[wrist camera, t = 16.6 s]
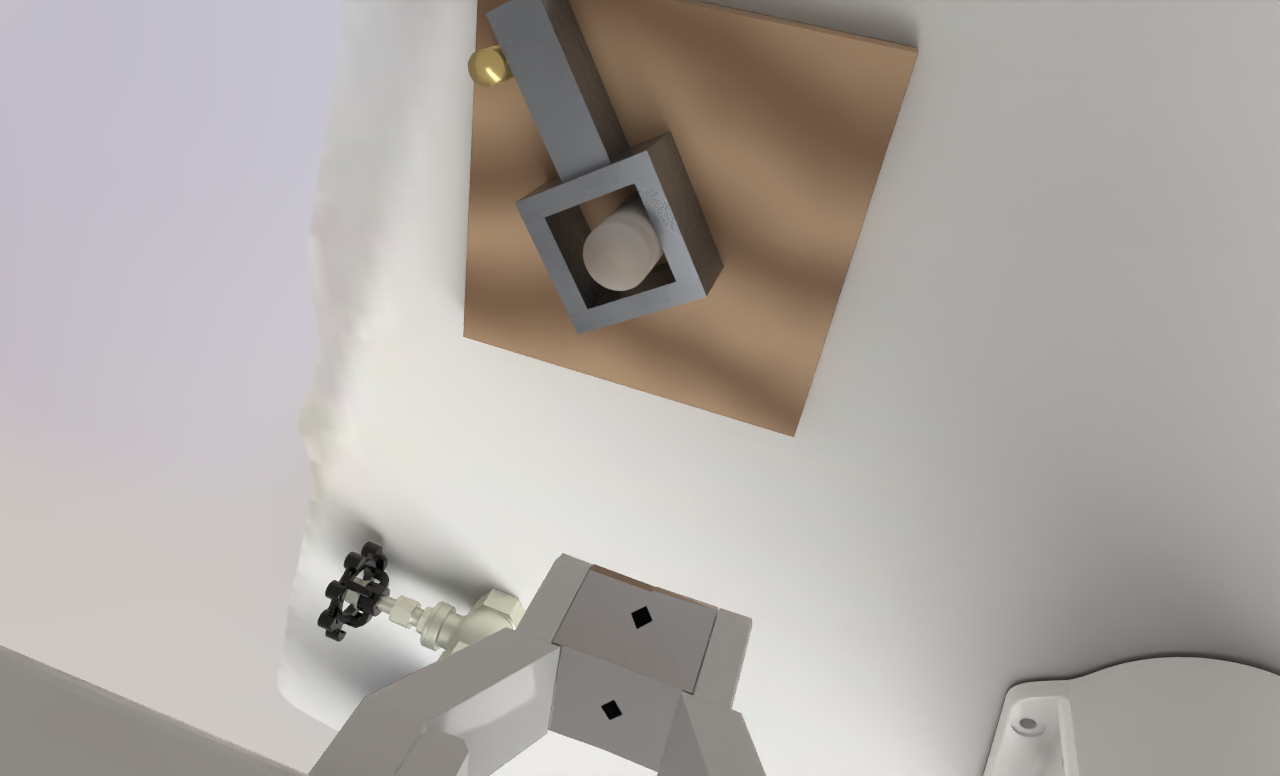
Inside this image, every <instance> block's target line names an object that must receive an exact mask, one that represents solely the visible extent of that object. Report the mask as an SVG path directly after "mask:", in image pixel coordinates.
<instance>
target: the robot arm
mask: <svg viewBox="0 0 1280 776" xmlns="http://www.w3.org/2000/svg"><path fill="white" fill-rule="evenodd" d="M717 611H718V612H717ZM716 614H717V615H716ZM715 618H716V619H715ZM714 621H715V622H714ZM712 628H713V629H712ZM751 628H752V619H751V618H748V617H745V616H742V615H739V614H736V613H733V612H730V611H727V610H725V609H722V608H719V610H718V607H716V606H713V605H710V604H707V603H704V602H701V601H698V600H695V599H692V598H689V597H686V596H683V595H680V594H677V593H674V592H671V591H668V590H665V589H662V588H659V587H656V586H655V587H654V586H651V585H649V584H646V583H643V582H640V581H638V580H635V579H632V578H630V577H627V576H624V575H622V574H619V573H616V572H614V571H611V570H608V569H606V568H603V567H600V566H598V565H595V564H594V565H593V564H591V563H588V562H585V561H582V560H580V559H577V558H574V557H572V556H569V555H566V554H564V553H563V554H561V555H560V556H559V557H558V558H557V559H556V560H555V562H554V564H553V566H552V567H551V569H550V571H549V573H548V574H547V576H546V578H545V579H544V581H543V583H542V585H541V586H540V588H539V590H538V591H537V593H536V595H535V597H534V598H533V600H532V602H531V603H530V605H529V607H528V609H527V610H526V612H525V614H524V615H523V617H522V619H521V621H520V622H519V624H518V626H517V628H516V629H515V630H514V629H511V628H508V627H505V628H503V629H501V630H499V631H497V632H495V633H493V634H491V635H489V636H487V637H485V638H483V639H481V640H479V641H477V642H475V643H473V644H471V645H469V646H466V647H464V648H462V649H460V650H458V651H456V652H454V653H452V654H450V655H448V656H446V657H444V658H442V659H440V660H438V661H436V662H434V663H432V664H430V665H428V666H426V667H424V668H422V669H420V670H418V671H416V672H414V673H412V674H410V675H408V676H406V677H404V678H402V679H400V680H398V681H396V682H394V683H392V684H390V685H388V686H386V687H384V688H382V689H380V690H378V691H376V692H374V693H372V694H370V695H368V696H366V697H364V698H363V700H362V701H361V703H360V704H359V705H358V707H357V708H356V709H355V711H354V712H353V714H352V715H351V716H350V718H349V719H348V720H347V722H346V723H345V725H344V726H343V727H342V729H341V730H340V731H339V733H338V734H337V736H336V737H335V738H334V740H333V741H332V742H331V744H330V745H329V747H328V748H327V749H326V751H325V752H324V753H323V755H322V756H321V758H320V759H319V760H318V761H317V763H316V764H315V766H314V767H313V768H312V770H311V771H310V773H309V774H306V773H303V772H301V771H298V770H296V769H294V768H291V767H289V766H287V765H284V764H282V763H279V762H277V761H275V760H272V759H270V758H268V757H265V756H263V755H260V754H258V753H256V752H253V751H251V750H248V749H246V748H243V747H241V746H239V745H236V744H234V743H232V742H229V741H227V740H225V739H222V738H220V737H218V736H215V735H212V734H210V733H208V732H206V731H203V730H201V729H198V728H196V727H194V726H191V725H189V724H187V723H184V722H182V721H179V720H177V719H175V718H172V717H170V716H167V715H165V714H163V713H160V712H158V711H156V710H153V709H151V708H148V707H146V706H144V705H141V704H139V703H136V702H134V701H132V700H129V699H127V698H124V697H122V696H120V695H117V694H115V693H113V692H110V691H108V690H106V689H103V688H101V687H98V686H96V685H94V684H91V683H89V682H87V681H84V680H82V679H79V678H77V677H75V676H72V675H70V674H67V673H65V672H63V671H60V670H58V669H55V668H53V667H51V666H48V665H46V664H44V663H41V662H39V661H37V660H34V659H32V658H29V657H27V656H25V655H22V654H20V653H17V652H15V651H13V650H10V649H8V648H6V647H3V646H1V645H0V776H489V775H491V774H492V773H493V772H495V771H496V770H497V769H499V768H500V767H502V766H503V765H504V764H506V763H507V762H508V761H510V760H511V759H513V758H514V757H515V756H517V755H518V754H519V753H521V752H522V751H524V750H525V749H526V748H528V747H529V746H530V745H532V744H533V743H535V742H536V741H537V740H539V739H540V738H541V737H543V736H544V735H546V734H547V731H548V730H550V731H553V732H556V733H559V734H562V735H564V736H567V737H570V738H573V739H576V740H579V741H581V742H584V743H587V744H590V745H593V746H595V747H598V748H601V749H603V748H604V750H606V751H609V752H611V753H613V754H616V755H618V756H620V757H623V758H625V759H628V760H630V761H632V762H635V763H637V764H640V765H642V766H644V767H647V768H649V769H652V770H654V771H656V772H658V775H657V776H766V774H765V772H764V769H763V767H762V764H761V762H760V759H759V757H758V754H757V752H756V749H755V747H754V744H753V741H752V739H751V736H750V734H749V731H748V729H747V726H746V724H745V721H744V719H743V716H742V714H741V713H739V712H737V711H734V710H732V705H733V701H734V697H735V693H736V689H737V685H738V681H739V677H740V673H741V669H742V664H743V660H744V656H745V652H746V648H747V644H748V640H749V636H750V632H751ZM711 631H712V632H711ZM708 641H709V642H708ZM705 651H706V652H705ZM704 654H705V655H704ZM983 776H1280V676H1278V675H1276V674H1273V673H1271V672H1268V671H1265V670H1262V669H1258V668H1255V667H1252V666H1248V665H1244V664H1239V663H1234V662H1229V661H1223V660H1216V659H1207V658H1194V657H1166V658H1153V659H1145V660H1138V661H1133V662H1128V663H1123V664H1119V665H1115V666H1112V667H1109V668H1106V669H1103V670H1100V671H1097V672H1094V673H1091V674H1088V675H1086V676H1082V677H1079V678H1075V679H1070V680H1054V681H1037V682H1028V683H1022V684H1019V685H1016V686H1014V687H1012V688H1011V689H1010V690H1009V691H1008V693H1007V695H1006V698H1005V701H1004V705H1003V708H1002V712H1001V715H1000V719H999V722H998V726H997V729H996V733H995V736H994V740H993V743H992V747H991V750H990V754H989V757H988V761H987V764H986V768H985V771H984V775H983Z"/></svg>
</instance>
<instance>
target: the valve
mask: <svg viewBox="0 0 1280 776" xmlns="http://www.w3.org/2000/svg"><path fill="white" fill-rule="evenodd" d="M381 553H382V546H380V545H377V544H375V543H372V542H370V541H369V542H367V543H366V544H365V545H364V547H363V548H362V551H361V555H360V554H358V553H355V552H350V553H349V554H348V555H347V557H346V559H345V561H344V567H345V568H346V570H345V572H344V574H343V576H342V577H341V579H340V580H339V581H336V580H334V581H332V582H331V583H330V584H329V585H328V587H327V589H326V592H325V596H326V597H327V598H330V599H331V603H330V606H329V608H328V609H326V610H324V611H323V612H322V613H321V615H320V617H319V619H318V626H319V627H322V628H324V629H326V632H325V635H326V637H329V638H331V639H333V640H336V641H338V642H339V641H341V640H342V639H343V638H344V637H345V635H346V632H345V631H342V630H341V628H342V625H343V624H347V625H349V626H352V627H354V628H358V627H360V626H363V625H365V624H366V623H368V622H369V621H370V620H371V618H372V616H377V615H379V614H380V613H381V612H382V611H383V612H386V613H388V614H390V615H389V620H390V621H392V622H394V623H396V624H399V625H401V626H403V627H406V628H408V629H410V627H411V626H412V625H413V626H415V627H416V631H417V632H418V633H420V634H421V641H420V642H421V645H422V646H424V647H427V648H429V649H432V650H434V651H436V650H438V649H439V648H440V647H441V648H443V649H446V651H444V652H443V653H442V655H441V656H440V658H439V659H438V660H440V659H442V658H444V657H446V656H448V655H450V654H452V653H454V652H456V651H458V650H460V649H462V648H464V647H466V646H469V645H471V644H473V643H475V642H477V641H479V640H481V639H483V638H485V637H487V636H489V635H491V634H493V633H495V632H497V631H499V630H501V629H503V628H505V627H508V628H511V629H514V630H515V629H516V628H517V626H518V624H519V622H520V621H521V619H522V617H523V615H524V614H525V611H524V608H523V606H522V604H521V602H520V600H519V599H518V598H516V597H514V596H511V595H509V594H506V593H504V592H502V591H499V590H497V589H492V590H490V591H489V592H487V593H486V594H485V595H483V596H482V597H481V598H479V599H478V600H477V602H476V603H475V605H474V606H473V608H472V609H471V611H470V612H469V614H468V615H466V616H462V615H459V614H457V613H456V608H455V607H454V606H452V605H449V604H447V603H444V602H439V603H438V604H437V605H436V606H435V607H434V609H433V608H431V607H429V606H428V607H427V608H426V609H425V610H423V609H421V605H420V604H419V602H417V601H414V600H412V599H409V598H407V597H404V596H402V595H401V596H400V597H399V598H398V599H397V600H396V599H393V598H391V597H389V594H390V590H389V588H388V586H389V577H388V575H387V574H386V572H384V570H385V568H386V566H387V558H385V557H382V556H380V555H381ZM377 554H379V555H377ZM362 570H364V576H363V580H362V579H359V578H357V577H356V576H357V575H358V574H359V573H360V572H361V571H362ZM374 579H377V580H379V581H380V583H379V584H378V583H375V582H374ZM344 600H345V601H346V602H348V603H350V605H349V606H348V607H347V608H346V609H345V610H344V611H343V612H342V607H343V602H344ZM359 610H360V611H362V612H363V614H362V613H360V612H359Z"/></svg>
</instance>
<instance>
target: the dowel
mask: <svg viewBox="0 0 1280 776" xmlns="http://www.w3.org/2000/svg"><path fill="white" fill-rule="evenodd" d="M468 69H469V73H470V76H471V78H472V79H473V81H474V82H475V83H476V84H478V85H479V86H482V87H491V86H494V85H497V84H499V83H502V82H504V81H507V80H509V79H512V78H514V75H513V73H512V71H511V69H510V67H509V64H508V62H507V60H506V58H505V56H504V53H503V51H502V49H501V47H500V45H496V46H492V47H489V48H486V49H482V50H479V51H476V52H474V53H473V54H472V55H471V57H470V59H469V63H468Z"/></svg>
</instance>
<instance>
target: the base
mask: <svg viewBox="0 0 1280 776" xmlns="http://www.w3.org/2000/svg"><path fill="white" fill-rule="evenodd" d="M508 1H510V0H478V5H477V28H476V51H479V50H482V49H486V48H489V47H492V46H496V45H499V42H498V40H497V38H496V36H495V34H494V31H493V29H492V27H491V25H490V23H489V20H488V18H487V16H486V13H488V12H490V11H492V10H493V9H495V8H497V7H499V6H501V5H503V4H505V3H506V2H508ZM569 2H570V5H571V7H572V10H573V12H574V14H575V17H576V19H577V22H578V24H579V26H580V29H581V31H582V34H583V36H584V38H585V41H586V43H587V46H588V48H589V50H590V53H591V55H592V58H593V60H594V62H595V65H596V67H597V70H598V72H599V74H600V77H601V79H602V82H603V84H604V86H605V89H606V91H607V94H608V96H609V98H610V101H611V103H612V106H613V108H614V110H615V113H616V115H617V118H618V120H619V122H620V125H621V127H622V130H623V132H624V135H625V137H626V139H627V142H628V144H629V147H632V146H634V145H637V144H639V143H642V142H644V141H647V140H649V139H652V138H654V137H657V136H659V135H662V134H664V133H666V132H669V131H671V133H672V136H673V138H674V141H675V143H676V146H677V148H678V151H679V153H680V156H681V158H682V161H683V164H684V166H685V169H686V171H687V174H688V176H689V179H690V181H691V184H692V186H693V189H694V191H695V194H696V197H697V199H698V202H699V204H700V207H701V209H702V212H703V214H704V217H705V219H706V222H707V224H708V227H709V229H710V232H711V235H712V237H713V240H714V242H715V245H716V247H717V250H718V252H719V255H720V257H721V260H722V262H723V265H724V268H723V270H722V271H721V273H720V275H719V276H718V278H717V280H716V282H715V283H714V285H713V287H712V288H711V290H710V292H709V294H708V295H707V297H704V298H701V299H697V300H694V301H691V302H687V303H684V304H680V305H677V306H674V307H670V308H667V309H664V310H660V311H657V312H653V313H650V314H647V315H643V316H640V317H637V318H633V319H630V320H626V321H623V322H620V323H616V324H613V325H610V326H606V327H603V328H600V329H596V330H593V331H589V332H586V333H583V334H579V335H578V334H577V331H576V329H575V327H574V325H573V323H572V321H571V319H570V317H569V315H568V313H567V311H566V309H565V306H564V304H563V302H562V300H561V298H560V296H559V294H558V292H557V290H556V288H555V286H554V284H553V282H552V279H551V277H550V275H549V273H548V271H547V269H546V267H545V265H544V263H543V261H542V259H541V257H540V255H539V252H538V250H537V248H536V246H535V244H534V242H533V240H532V238H531V236H530V234H529V232H528V230H527V228H526V225H525V223H524V221H523V219H522V217H521V215H520V213H519V211H518V209H517V207H516V205H515V203H516V202H517V201H519V200H520V199H521V198H523V197H524V196H526V195H527V194H529V193H530V192H532V191H533V190H534V189H536V188H537V187H539V186H540V185H542V184H543V183H545V182H546V181H548V180H550V179H553V178H555V177H558V176H559V174H558V172H557V170H556V168H555V166H554V163H553V161H552V159H551V157H550V155H549V152H548V150H547V148H546V146H545V144H544V141H543V139H542V137H541V135H540V133H539V130H538V128H537V126H536V124H535V122H534V119H533V117H532V115H531V113H530V111H529V108H528V106H527V104H526V102H525V100H524V97H523V95H522V93H521V91H520V89H519V86H518V84H517V82H516V80H515V78H512V79H509V80H507V81H504V82H502V83H499V84H497V85H494V86H491V87H482V86H479V85H478V84H476V83H475V82H474V99H473V122H472V146H471V169H470V193H469V216H468V239H467V263H466V286H465V310H464V333H463V337H466V338H469V339H473V340H476V341H479V342H483V343H486V344H489V345H492V346H496V347H499V348H502V349H506V350H509V351H512V352H515V353H519V354H522V355H525V356H529V357H532V358H535V359H538V360H542V361H545V362H548V363H552V364H555V365H558V366H562V367H565V368H568V369H571V370H575V371H578V372H581V373H585V374H588V375H591V376H594V377H598V378H601V379H604V380H608V381H611V382H614V383H617V384H621V385H624V386H627V387H631V388H634V389H637V390H640V391H644V392H647V393H650V394H654V395H657V396H660V397H664V398H667V399H670V400H673V401H677V402H680V403H683V404H687V405H690V406H693V407H696V408H700V409H703V410H706V411H710V412H713V413H716V414H719V415H723V416H726V417H729V418H733V419H736V420H739V421H743V422H746V423H749V424H752V425H756V426H759V427H762V428H766V429H769V430H772V431H775V432H779V433H782V434H785V435H789V436H792V437H794V435H795V432H796V429H797V426H798V423H799V420H800V417H801V414H802V411H803V408H804V404H805V401H806V398H807V395H808V392H809V389H810V386H811V383H812V380H813V377H814V374H815V370H816V367H817V364H818V361H819V358H820V355H821V352H822V349H823V346H824V343H825V339H826V336H827V333H828V330H829V327H830V324H831V321H832V318H833V315H834V312H835V308H836V305H837V302H838V299H839V296H840V293H841V290H842V287H843V284H844V281H845V278H846V274H847V271H848V268H849V265H850V262H851V259H852V256H853V253H854V250H855V247H856V243H857V240H858V237H859V234H860V231H861V228H862V225H863V222H864V219H865V216H866V213H867V209H868V206H869V203H870V200H871V197H872V194H873V191H874V188H875V185H876V182H877V178H878V175H879V172H880V169H881V166H882V163H883V160H884V157H885V154H886V151H887V147H888V144H889V141H890V138H891V135H892V132H893V129H894V126H895V123H896V120H897V117H898V113H899V110H900V107H901V104H902V101H903V98H904V95H905V92H906V89H907V86H908V82H909V79H910V76H911V73H912V70H913V67H914V64H915V61H916V58H917V55H918V48H916V47H911V46H907V45H902V44H897V43H893V42H888V41H883V40H879V39H874V38H869V37H865V36H860V35H855V34H851V33H846V32H841V31H837V30H832V29H827V28H823V27H818V26H813V25H809V24H804V23H799V22H795V21H790V20H785V19H781V18H776V17H771V16H767V15H762V14H757V13H753V12H748V11H743V10H739V9H734V8H729V7H725V6H720V5H715V4H711V3H706V2H701V1H697V0H569ZM579 206H580V208H581V210H582V212H583V215H584V217H585V219H586V221H587V223H588V226H589V228H590V230H591V233H590V234H589V236H588V237H587V239H586V241H585V244H584V248H583V259H584V263H585V266H586V269H587V271H588V272H589V274H590V275H591V276H592V278H593V279H594V280H595V281H596V282H598V283H599V284H600V285H602V286H604V287H606V288H608V289H611V290H616V291H624V290H629V289H632V288H634V287H636V286H637V285H639V284H640V283H641V282H642V281H643V279H644V278H645V277H646V276H647V274H648V273H649V272H650V271H651V269H652V268H653V267H655V266H658V265H661V264H664V263H667V262H668V261H667V259H666V256H665V254H664V251H663V249H662V247H661V244H660V242H659V240H658V237H657V235H656V232H655V230H654V228H653V225H652V223H651V221H650V218H649V216H648V213H647V211H646V209H645V206H644V204H643V202H642V199H641V197H640V194H639V192H638V190H637V187H636V185H635V183H634V184H631V185H628V186H626V187H623V188H621V189H618V190H615V191H613V192H610V193H607V194H605V195H602V196H600V197H597V198H594V199H592V200H589V201H586V202H584V203H581V204H579Z"/></svg>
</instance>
